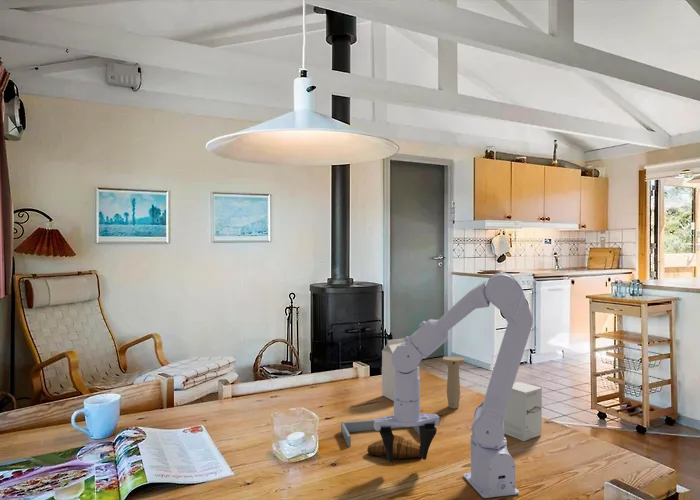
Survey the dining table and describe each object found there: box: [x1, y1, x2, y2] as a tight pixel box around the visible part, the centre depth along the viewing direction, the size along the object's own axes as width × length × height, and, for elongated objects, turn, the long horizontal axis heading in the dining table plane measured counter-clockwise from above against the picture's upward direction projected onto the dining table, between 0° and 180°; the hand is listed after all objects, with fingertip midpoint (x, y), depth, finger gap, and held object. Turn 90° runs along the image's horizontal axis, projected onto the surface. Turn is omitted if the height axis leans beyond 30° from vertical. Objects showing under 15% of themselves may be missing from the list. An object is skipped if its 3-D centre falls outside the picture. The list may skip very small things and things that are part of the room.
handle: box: [442, 356, 465, 409], centre depth 147 cm, size 5×6×15 cm
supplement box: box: [504, 381, 543, 442], centre depth 126 cm, size 7×7×13 cm
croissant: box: [366, 434, 422, 460], centre depth 114 cm, size 14×7×5 cm, turn 83°
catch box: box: [340, 419, 420, 447], centre depth 125 cm, size 10×20×2 cm, turn 102°
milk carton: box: [381, 337, 406, 402], centre depth 156 cm, size 7×7×19 cm
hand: (406, 459), depth 106 cm, fingers open, 7 cm apart
